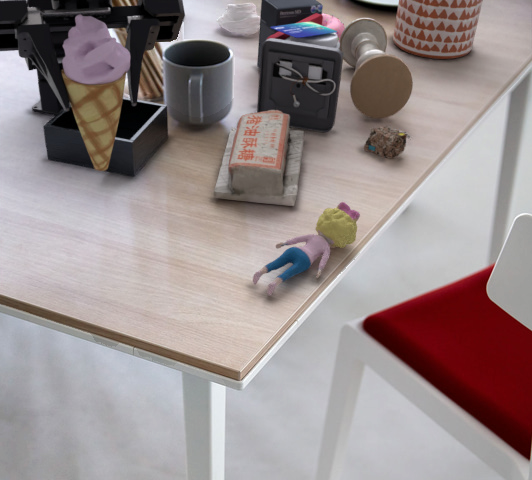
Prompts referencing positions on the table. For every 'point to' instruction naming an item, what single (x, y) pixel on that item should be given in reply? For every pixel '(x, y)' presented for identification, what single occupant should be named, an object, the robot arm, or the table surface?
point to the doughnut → (333, 24)
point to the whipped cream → (240, 19)
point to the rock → (386, 142)
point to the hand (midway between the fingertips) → (101, 107)
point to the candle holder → (374, 70)
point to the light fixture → (301, 79)
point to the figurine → (314, 244)
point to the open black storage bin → (126, 140)
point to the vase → (436, 27)
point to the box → (283, 16)
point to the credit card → (303, 29)
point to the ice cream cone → (95, 84)
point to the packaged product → (261, 160)
